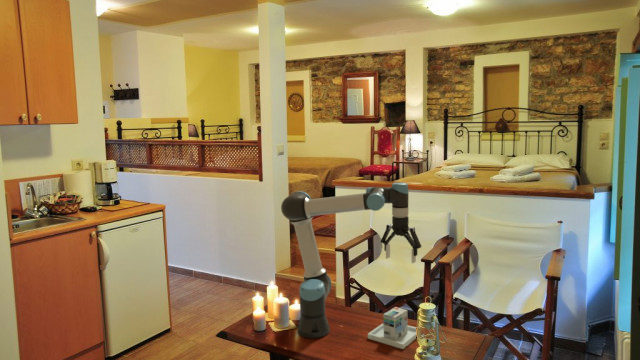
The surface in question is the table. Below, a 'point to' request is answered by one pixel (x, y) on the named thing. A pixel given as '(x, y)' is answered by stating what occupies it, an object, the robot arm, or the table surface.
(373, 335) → the tray
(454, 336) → the table surface
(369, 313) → the table surface
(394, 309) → the light bulb box
